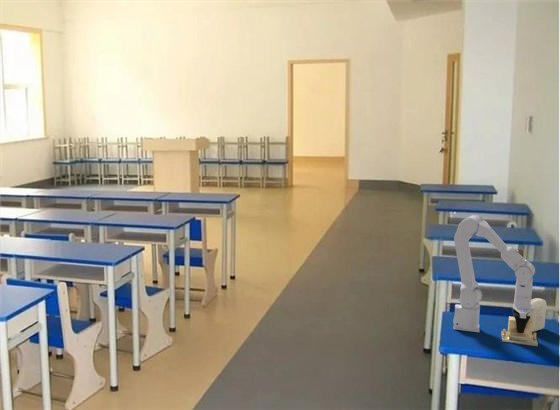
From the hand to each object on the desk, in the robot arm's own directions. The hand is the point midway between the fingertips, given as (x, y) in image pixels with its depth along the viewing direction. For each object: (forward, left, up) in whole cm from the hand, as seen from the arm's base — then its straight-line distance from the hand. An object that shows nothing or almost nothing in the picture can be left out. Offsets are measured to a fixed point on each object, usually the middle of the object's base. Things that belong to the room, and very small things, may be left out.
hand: (519, 330), depth 218 cm
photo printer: (+6, +13, -4) cm, 15 cm away
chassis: (0, 0, -3) cm, 3 cm away
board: (0, 0, -2) cm, 2 cm away
